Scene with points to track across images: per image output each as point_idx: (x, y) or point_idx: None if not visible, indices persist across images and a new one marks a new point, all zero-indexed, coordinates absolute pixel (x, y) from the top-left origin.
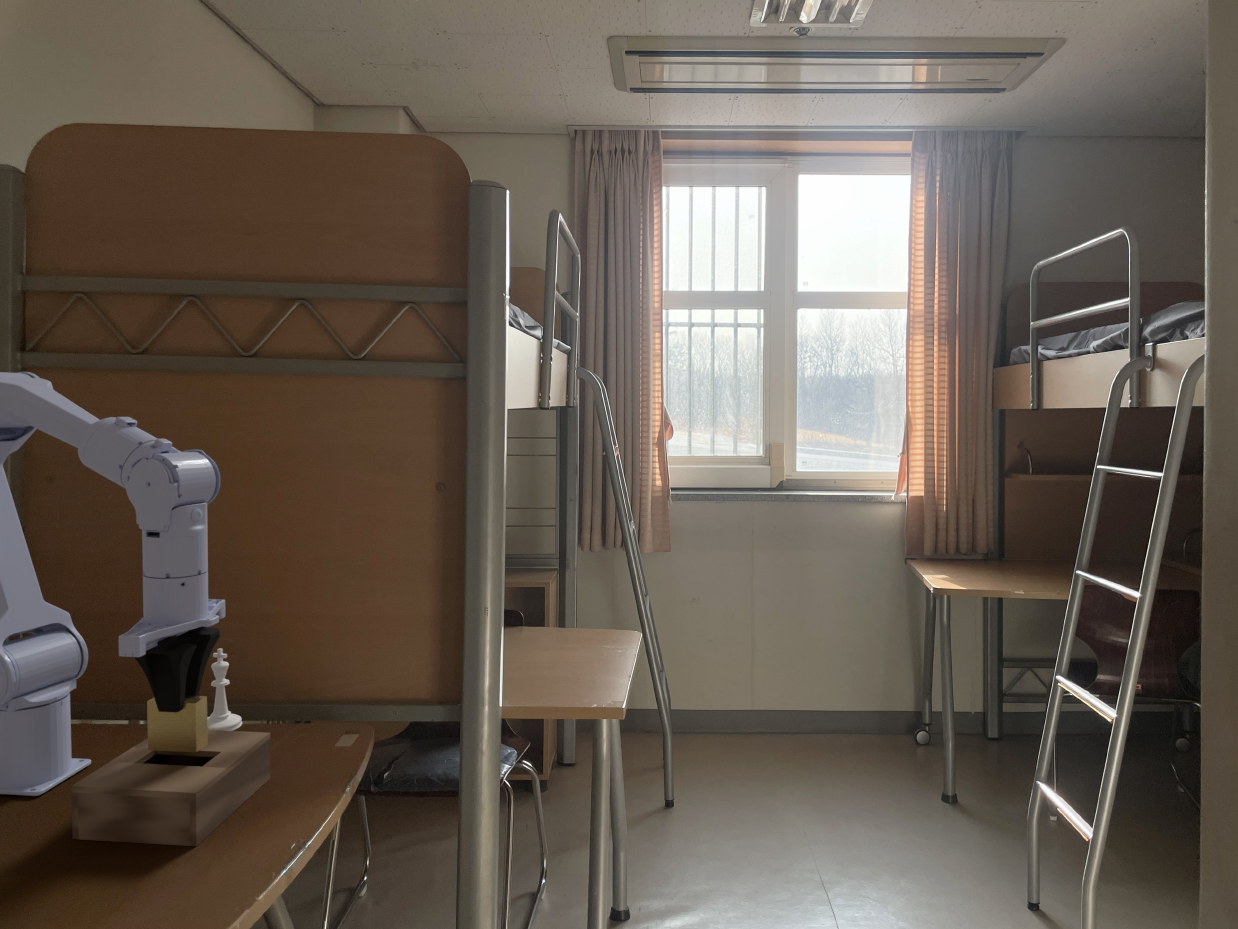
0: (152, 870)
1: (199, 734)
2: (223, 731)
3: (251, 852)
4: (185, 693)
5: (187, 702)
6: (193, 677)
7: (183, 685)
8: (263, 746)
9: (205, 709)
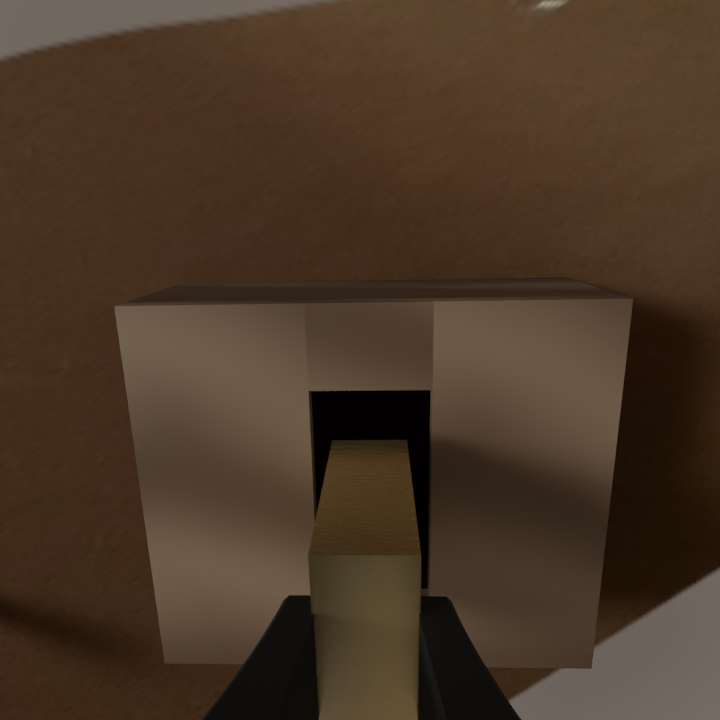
0: (675, 319)
1: (387, 466)
2: (147, 475)
3: (591, 112)
4: (314, 667)
5: (413, 599)
6: (288, 714)
7: (461, 693)
8: (178, 300)
9: (331, 516)
